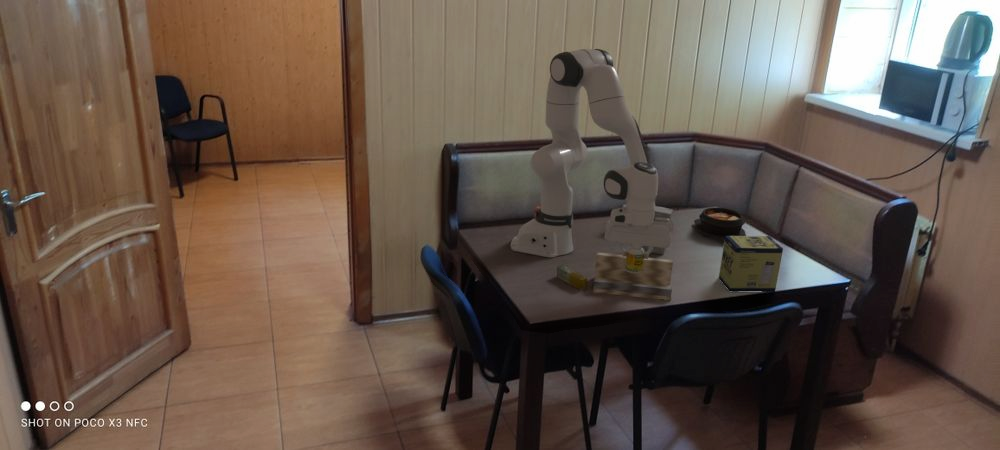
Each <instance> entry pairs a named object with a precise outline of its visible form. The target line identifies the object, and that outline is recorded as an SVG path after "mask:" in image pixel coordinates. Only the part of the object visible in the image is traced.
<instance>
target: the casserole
mask: <svg viewBox="0 0 1000 450" xmlns="http://www.w3.org/2000/svg"><path fill="white" fill-rule="evenodd" d="M698 217H699V218H697V219H695V220H693V221H694V223H695V229H696V231H698V232H699V233H700V234H703V235H705V236H707V237H710V238H714V239H716V240H718V241H720V242H721V241H722V242H724V241H725V236H747V234H746V231H745V229H743V225H745V224H746V221H745V219H744V216H743V214H742V213H740V212H739V211H736V210H734V209H730V208H725V207H724V208H723V207H709V208H705V209H703V210H702V212H701V213H700V214H699V215H698Z"/></svg>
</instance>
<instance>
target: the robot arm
mask: <svg viewBox="0 0 1000 450" xmlns="http://www.w3.org/2000/svg"><path fill="white" fill-rule="evenodd" d="M549 74H550V76H549V81H548V84H547V85H548V86H547V90H546V102H545V121H544V123H545V125H546V127H547V128H548V129H549V130H550V134H551V137H552V142H551V143H549V144H547V145H544V146H541V147H540V148H539V149H538V150H536V151H535V152H534V153H533V154H532V156H531V159H530V166H531V169H532V172H533V173H534V174H535V175H536V176H537V177H538V180H539V183H540V189H541V191H540V192H541V195H540V206H538V205H537V206H535V208H534V214H533V215H534V216H533V218H532V219H531V220H529V221H528V222H526V223H524V224H522V226H521V227H520V229H519V230H518V233H517V235H516V236H514V237H513V238H512V240H511V242H510V249H511V250H512V251H514V252H519V253H524V254H528V255H529V254H530V255H534V256H535V255H536V256H540V257H545V258H556V257H558V256H564V255H568V254H570V253H572V252H573V251H574V245H573V238H572V227H573V222H574V221H573V220H574V212H573V201H574V189H573V188H572V187H571V186H570V185H569V183H568V182H569V181H568V173H569V172H571V171H573V170H576V169H577V168H579V167H581V166H582V165H583V163H585V162H586V160H587V158H588V154H589V153H588V147H587V145H586V144H585V142H583V140H582V138H581V133H580V127H579V125H580V124H579V115H580V100H581V99H580V97H581V96H580V93H581V88H582V87H583V88H584V89H585V91H586V94H587V101H588V102H587V103H588V107H589V113H590V115H591V120H592V121H593V123H594V124H595V125H596V126H598V127H599V128H601V129H603V130H604V131H607V132H611V133H613V134H616V135H617V136H618V137H620V138H621V140H622V141H623V143H624V146H625V150H626V153H627V156H628V160H629V162H630V165H628V166H623V167H622V166H620V167H616V168H614V169H611V170H608V171H607V173H606V174H605V175H604V179H603V189H604V191H605V193H606V195H607V196H608V197H610V199H613V200H621V201H625V202H626V203H625V204H626V207H622V206H621V207H617V208H613V209H612V210H611V212H610V218H609V219H608V221H607V223H606V226H605V231H604V236H603V237H604V238H603V239H604V241H605V242H607V243H612V244H613V243H614V244H615V243H616V244H619V248H620V250H621V252H622V253H621V255H622V256H624V257H627V249H625V247H624V246H625V245H630V244H631V245H632V244H637V245H641V246H649V250H648V251H647V252H646V251H644V259H648V258H650V257H649V255H650V254H651V252H652V250H653V247H661V248H666V249H667V248H669V247H670V246H671V233H672V231H673V230H674V222H673V220H672V219H671V220H669V219H668V218H659V217H654V215H655V206H656V199H657V195H658V188H659V174H658V169H657V168H656V166H654V165H652V163H651V161H650V158H649V156H648V151H647V148H646V146H645V142H644V139H643V136H642V132H641V130H640V127H639V125H638V122H637V120H636V118H635V117H634V116H633V114H631V112H630V110H629V109H628V106H627V104H626V99H625V95H624V91H623V86H622V84H621V80H620V77H619V74H618V72H617V70H616V69H615V67H614V60H613V58H612V56H611V54H610V53H609V52H608V51H607V50H603V49H601V48H595V49H591V48H589V49H587V48H586V49H585V48H583V49H576V50H571V51H563V52H560V53H557V54H555V55H554V56H553V57H552V59H551V61H550V64H549ZM669 221H670V222H669Z"/></svg>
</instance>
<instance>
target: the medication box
mask: <svg viewBox="0 0 1000 450" xmlns="http://www.w3.org/2000/svg"><path fill="white" fill-rule="evenodd" d="M556 267H557V268H556V271H557V272H556V277H557V278H558V279H560V280H562V281H564V282H566V284H567V283H568V284H569V285H570V286H573V287H575V288H576V289H578V290H580V291H585V290H587V289H588V288H587V287H588V278H587V276H584V275H582V274H581V273H579V272H577V271H575V270H573V269H571V268H569V267H567V266H566V265H564V264H561V265H559V266H558V265H557V266H556Z"/></svg>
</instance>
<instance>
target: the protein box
mask: <svg viewBox="0 0 1000 450" xmlns="http://www.w3.org/2000/svg"><path fill="white" fill-rule="evenodd" d="M783 250H784V248H783V247H782V246H781V245H780V244H779V243H778V242H776V241H775V239H774V238H772V237H771V236H769V235H746V236H725V241H723V249H722V253H721V254H722V255H721V262H720V267H719V272H718V273H719V274H718V280H719V281H720V280H721V281H722V282H723V283H722V282H721V281H720V282H721V283H722V285H723V286H724V285H725V286H726V287H727V288H728V289H727V288H726V287H725V286H724V287H725V288H726V289H727V291H728V290H729V291H762V292H761V293H776V289H777V283H778V277H779V273H780V266H781V262H782V255H783ZM729 291H728V292H729Z"/></svg>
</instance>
